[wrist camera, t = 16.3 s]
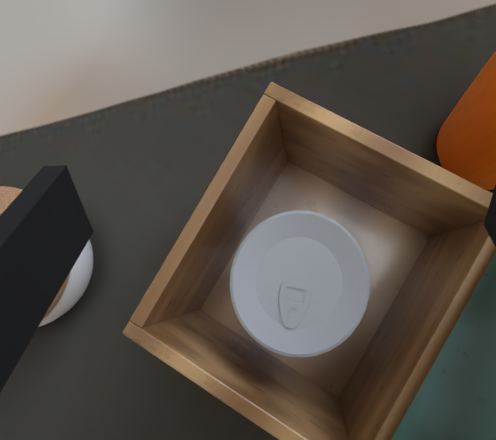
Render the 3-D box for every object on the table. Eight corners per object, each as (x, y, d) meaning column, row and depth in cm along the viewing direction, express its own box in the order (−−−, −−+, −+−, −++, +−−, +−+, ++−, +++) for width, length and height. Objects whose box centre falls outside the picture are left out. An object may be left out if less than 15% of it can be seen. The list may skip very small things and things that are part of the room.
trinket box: (133, 292, 37) (74, 298, 27) (25, 347, 37) (-68, 370, 28) (86, 182, 38) (16, 153, 29) (-16, 236, 39) (-115, 225, 30)
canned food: (259, 336, 34) (235, 364, 23) (248, 235, 35) (221, 217, 24) (358, 327, 33) (382, 353, 22) (344, 224, 34) (360, 200, 23)
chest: (189, 312, 36) (120, 333, 23) (284, 150, 36) (270, 80, 23) (341, 409, 33) (362, 497, 20) (441, 234, 34) (524, 208, 21)
